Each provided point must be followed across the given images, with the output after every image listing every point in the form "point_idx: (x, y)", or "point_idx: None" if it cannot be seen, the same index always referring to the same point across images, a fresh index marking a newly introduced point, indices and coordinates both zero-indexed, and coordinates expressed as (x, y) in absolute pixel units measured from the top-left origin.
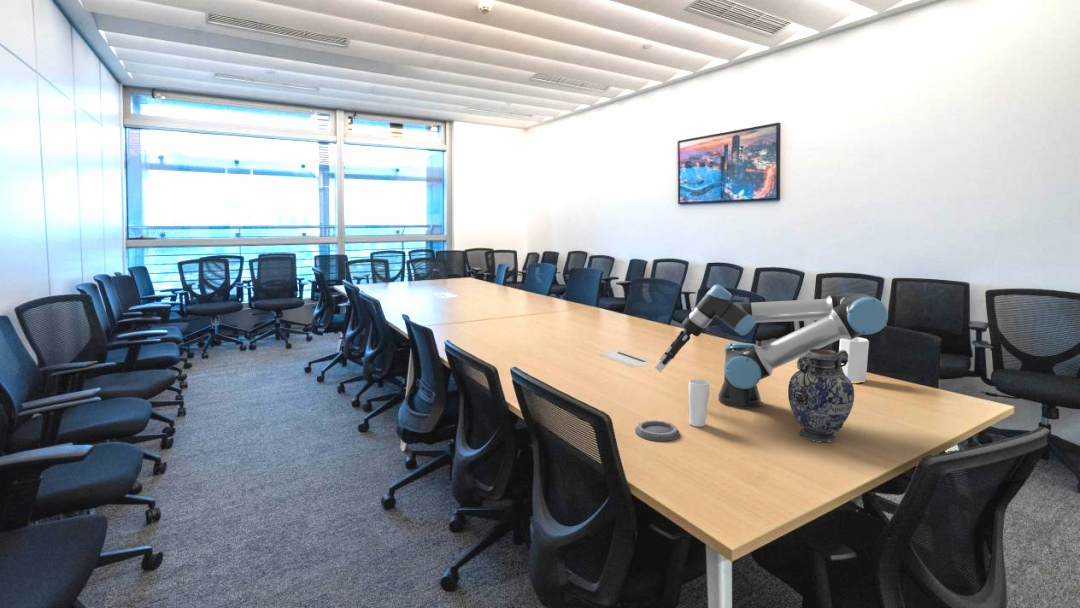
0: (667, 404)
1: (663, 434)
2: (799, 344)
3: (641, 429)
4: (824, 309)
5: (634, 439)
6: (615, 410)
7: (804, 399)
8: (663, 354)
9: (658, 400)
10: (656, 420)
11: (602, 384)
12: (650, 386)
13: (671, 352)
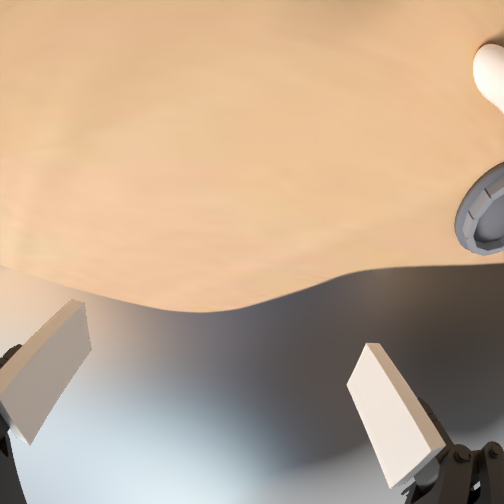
0: (234, 117)
1: None
2: None
3: (498, 251)
4: None
5: None
6: (323, 273)
7: None
8: (68, 380)
9: (183, 153)
10: (476, 214)
11: (107, 282)
12: (44, 186)
13: (478, 493)
